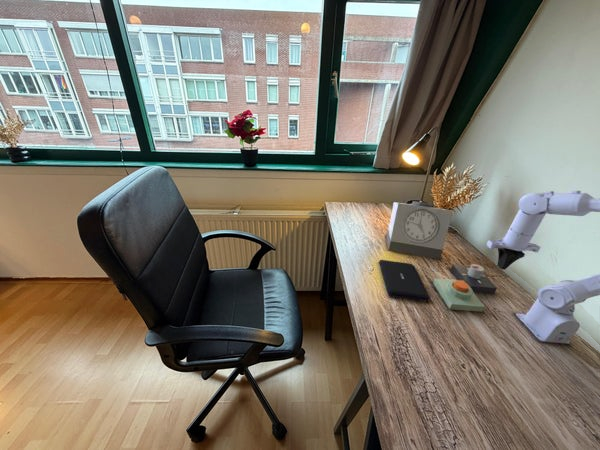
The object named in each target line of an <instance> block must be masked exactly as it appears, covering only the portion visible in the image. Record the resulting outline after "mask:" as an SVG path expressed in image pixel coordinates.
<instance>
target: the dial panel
mask: <svg viewBox="0 0 600 450" xmlns="http://www.w3.org/2000/svg"><path fill="white" fill-rule="evenodd" d="M470 266H471V265H468V264H466V265H465V264H452V265H451V267H450V271H451V272H452V273H453V275H454V277H456V279H457V280H463V281H465V283H467V284H468V285H469V286H470V288H471V289H472V290H473V293H480V294H481V293H483V294H495V293H496V291H497V289H498V287H497V286H496V285H495V283H493V281H491V280H490V279H489V277H488V276H487V275H486V274H485V273H483V274H482V276H481V277H480V279H475V278H472V277H470V276H469V275H468V274H467V273H468V270H469V268H470Z"/></svg>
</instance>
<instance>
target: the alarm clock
mask: <svg viewBox="0 0 600 450" xmlns="http://www.w3.org/2000/svg"><path fill="white" fill-rule="evenodd" d="M453 212H454V210H451V209H446V208H439V207H434V206H433V203H429V202H423V201H414V200H413V201H412V203H403V202H396V201H394V202H393V205H392V209H391V216H390V218H389V225H388V229H387V232H386V236H385V237H386V243H387V250H388V251H391V252H395V253H401V254H402V253H403V254H407V255H412V256H419V257H423V258H431V259H435V260H441V259H442V256H443V252H444V248H445V243H446V240H447V235H448V231H449V228H450V224H451V220H452V216H453Z"/></svg>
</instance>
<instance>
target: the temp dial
mask: <svg viewBox="0 0 600 450" xmlns="http://www.w3.org/2000/svg"><path fill="white" fill-rule="evenodd" d="M469 266H470V268H469V270H468V273H467V274H468V275H469V276H470V277H472V278H475V279H480V277H481V276H482V274H484V272H485V268H484V267H483V266H481V265H479V264H476V263H472V264H470V265H469Z"/></svg>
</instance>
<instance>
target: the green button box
mask: <svg viewBox="0 0 600 450" xmlns="http://www.w3.org/2000/svg"><path fill="white" fill-rule="evenodd" d="M456 280H457V279H449V278H437V277H436V278H434V280H433V282H432V284H433V285H434V287H435V289H436V290H437V292H438V293H439V295H440V296H441V298H442V300H443V301H444V303H445V304H446V306H447V307H448V309H449V310H455V311H457V310H458V311H468V312H481V313H482V312H483V311H484V309H485V308H486V307H485V304H484V303H482V301H481V300H480V299H479V297H478V296H477V295H476V294H475V292H473V290H472V289H471V288H470V286H469V288H468V290H467V292H460V291H458V290H456V289H455V288H454V287H453V284H454V282H455V281H456ZM461 281H463V280H461ZM464 282H465V281H464Z"/></svg>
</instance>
